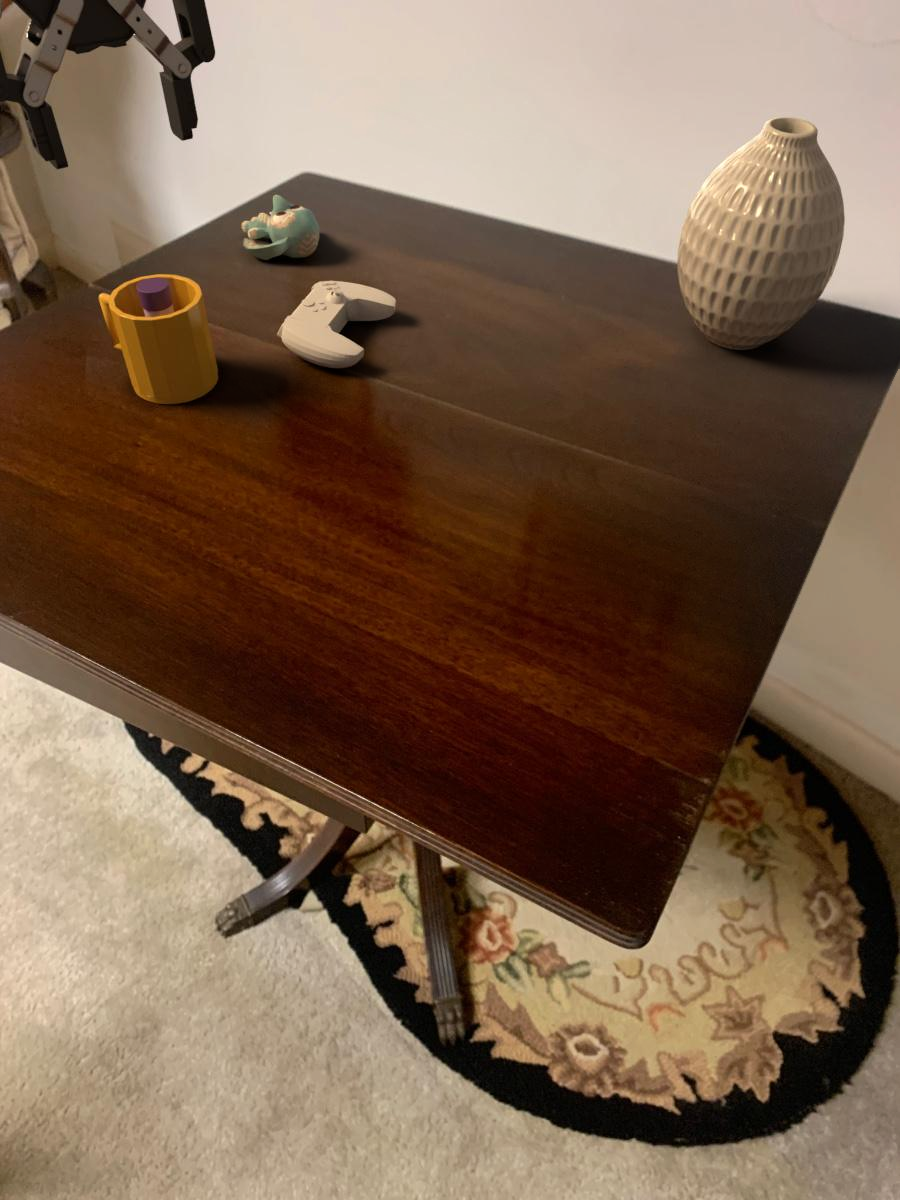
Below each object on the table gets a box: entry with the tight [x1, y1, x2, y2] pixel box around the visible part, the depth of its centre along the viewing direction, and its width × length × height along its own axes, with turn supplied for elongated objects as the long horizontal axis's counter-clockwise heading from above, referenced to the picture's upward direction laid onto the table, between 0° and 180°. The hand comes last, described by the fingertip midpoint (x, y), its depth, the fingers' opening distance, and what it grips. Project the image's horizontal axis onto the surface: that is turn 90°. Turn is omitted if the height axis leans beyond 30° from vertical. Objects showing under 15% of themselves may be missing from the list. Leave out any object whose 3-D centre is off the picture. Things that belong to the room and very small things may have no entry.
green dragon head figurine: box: [241, 194, 321, 261], centre depth 111 cm, size 11×7×12 cm
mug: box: [98, 273, 219, 405], centre depth 90 cm, size 12×9×10 cm
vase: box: [676, 116, 846, 351], centre depth 93 cm, size 16×16×22 cm
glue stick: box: [137, 278, 174, 317], centre depth 89 cm, size 3×3×10 cm
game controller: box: [276, 280, 397, 369], centre depth 98 cm, size 14×4×10 cm
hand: (122, 150), depth 59 cm, fingers open, 8 cm apart
